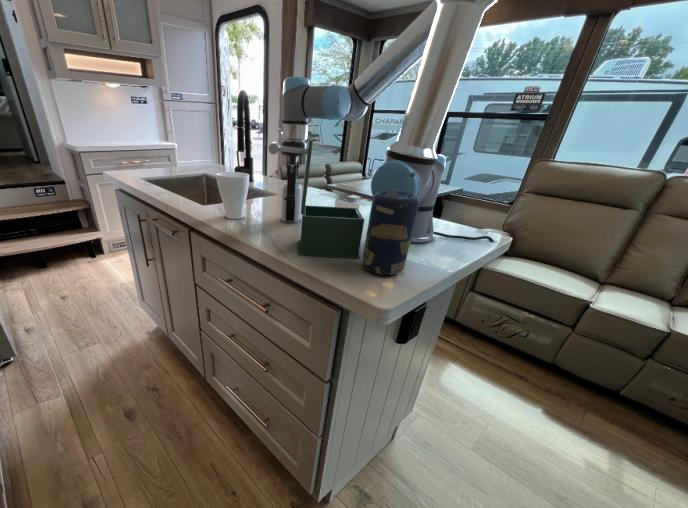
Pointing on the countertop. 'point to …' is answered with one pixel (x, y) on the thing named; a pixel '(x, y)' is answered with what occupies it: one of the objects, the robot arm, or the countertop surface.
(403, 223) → the canister
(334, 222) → the chest
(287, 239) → the countertop surface
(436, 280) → the countertop surface
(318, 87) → the robot arm
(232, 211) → the cup
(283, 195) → the beverage can
